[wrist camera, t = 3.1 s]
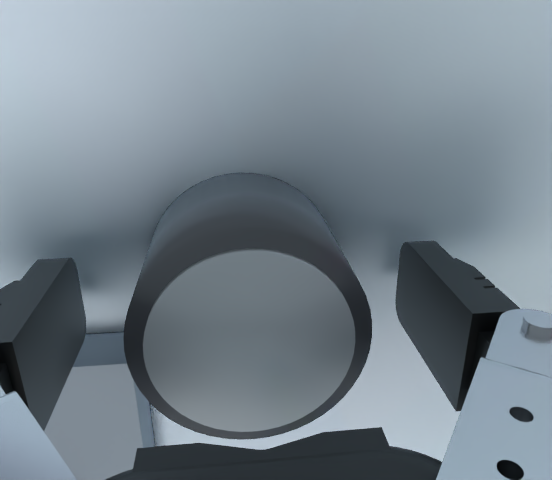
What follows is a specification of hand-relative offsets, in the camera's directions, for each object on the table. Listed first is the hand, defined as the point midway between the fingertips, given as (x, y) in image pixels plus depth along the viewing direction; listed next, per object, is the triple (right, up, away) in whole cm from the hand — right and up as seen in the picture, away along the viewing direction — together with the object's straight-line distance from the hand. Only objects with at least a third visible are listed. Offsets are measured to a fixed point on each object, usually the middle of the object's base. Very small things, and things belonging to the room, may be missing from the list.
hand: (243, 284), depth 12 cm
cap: (0, 0, +1) cm, 2 cm away
